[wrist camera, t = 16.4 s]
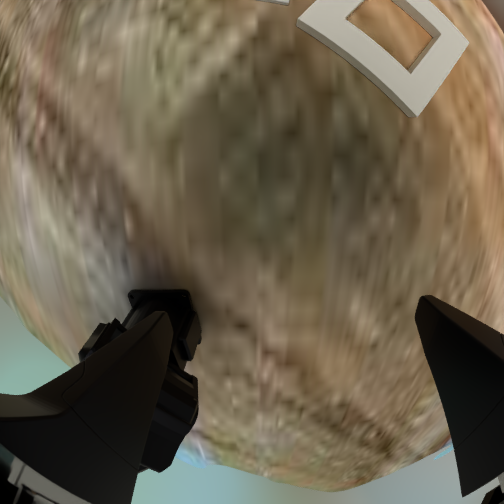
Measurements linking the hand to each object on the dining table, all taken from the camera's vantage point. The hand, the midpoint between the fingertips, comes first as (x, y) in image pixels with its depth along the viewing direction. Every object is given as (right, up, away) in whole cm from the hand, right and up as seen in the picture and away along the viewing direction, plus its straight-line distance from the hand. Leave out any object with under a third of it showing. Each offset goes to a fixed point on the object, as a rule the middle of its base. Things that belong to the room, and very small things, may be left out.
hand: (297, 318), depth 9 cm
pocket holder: (+9, +20, +4) cm, 22 cm away
